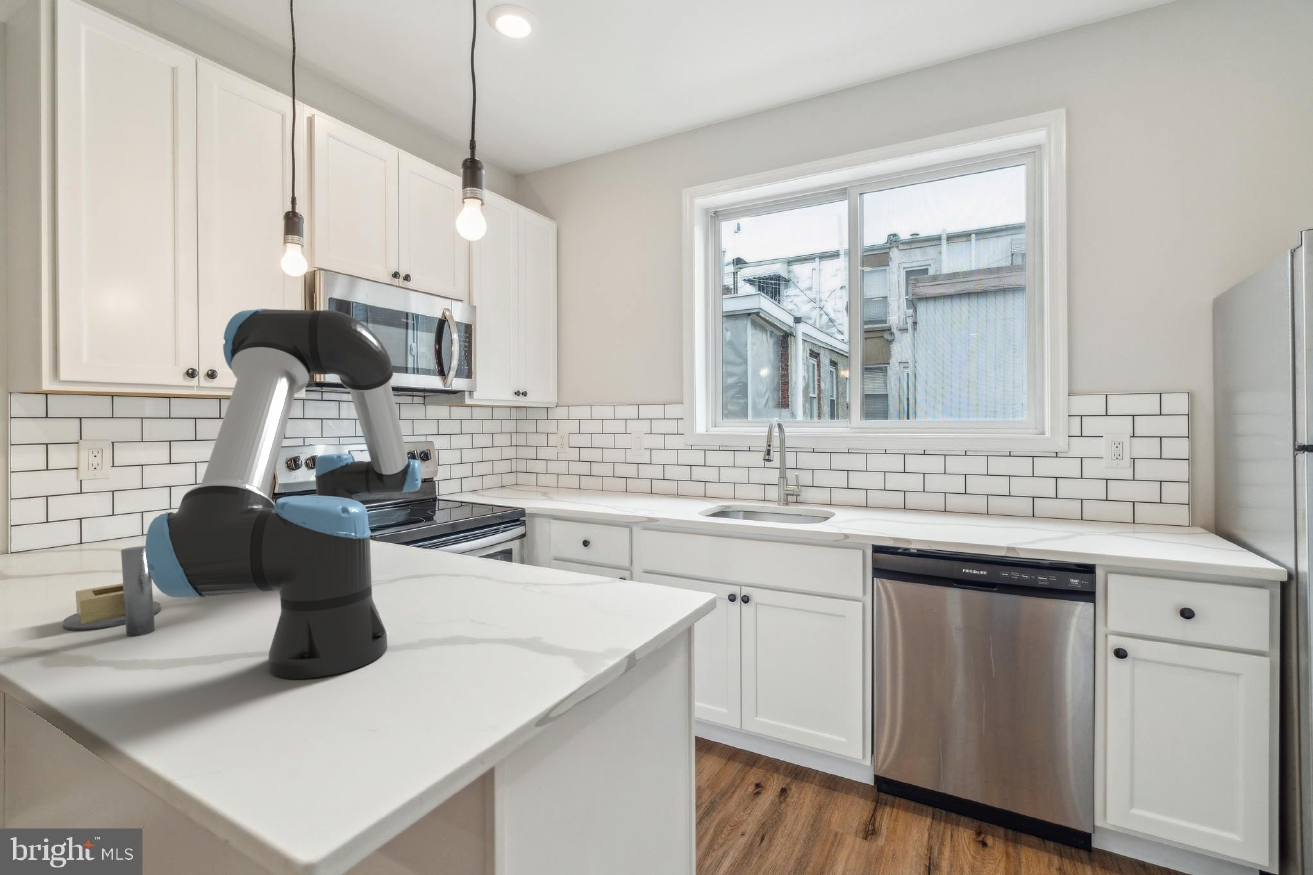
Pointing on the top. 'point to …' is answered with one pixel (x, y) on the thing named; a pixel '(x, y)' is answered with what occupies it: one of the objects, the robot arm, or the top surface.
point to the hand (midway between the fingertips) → (198, 555)
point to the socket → (100, 609)
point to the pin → (137, 592)
